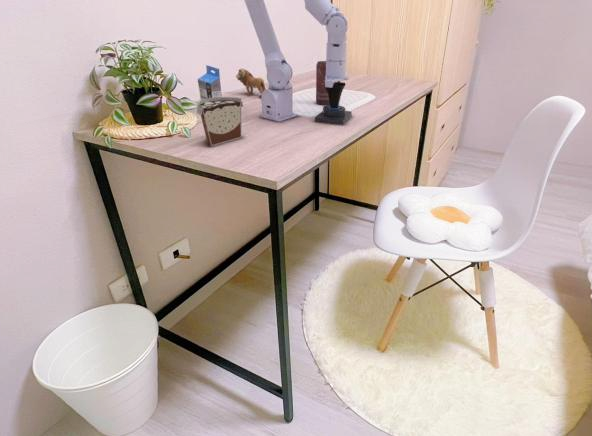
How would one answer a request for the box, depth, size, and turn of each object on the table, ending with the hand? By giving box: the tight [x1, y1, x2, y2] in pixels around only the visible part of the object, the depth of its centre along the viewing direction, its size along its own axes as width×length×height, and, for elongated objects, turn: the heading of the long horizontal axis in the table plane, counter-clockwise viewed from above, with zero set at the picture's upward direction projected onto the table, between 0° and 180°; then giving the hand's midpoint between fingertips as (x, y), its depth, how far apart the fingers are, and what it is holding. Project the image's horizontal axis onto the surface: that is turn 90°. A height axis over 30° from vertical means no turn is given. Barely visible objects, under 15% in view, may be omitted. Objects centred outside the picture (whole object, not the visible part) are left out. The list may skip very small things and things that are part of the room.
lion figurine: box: [235, 68, 267, 96], centre depth 138 cm, size 15×5×9 cm, turn 62°
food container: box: [196, 96, 244, 147], centre depth 94 cm, size 12×6×10 cm, turn 141°
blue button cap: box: [328, 105, 341, 110], centre depth 115 cm, size 4×4×2 cm
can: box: [315, 60, 330, 106], centre depth 130 cm, size 6×6×14 cm
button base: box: [314, 104, 353, 126], centre depth 116 cm, size 11×9×4 cm
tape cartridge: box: [197, 64, 223, 101], centre depth 121 cm, size 9×4×12 cm, turn 44°
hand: (334, 107), depth 115 cm, fingers closed, pressing on blue button cap
